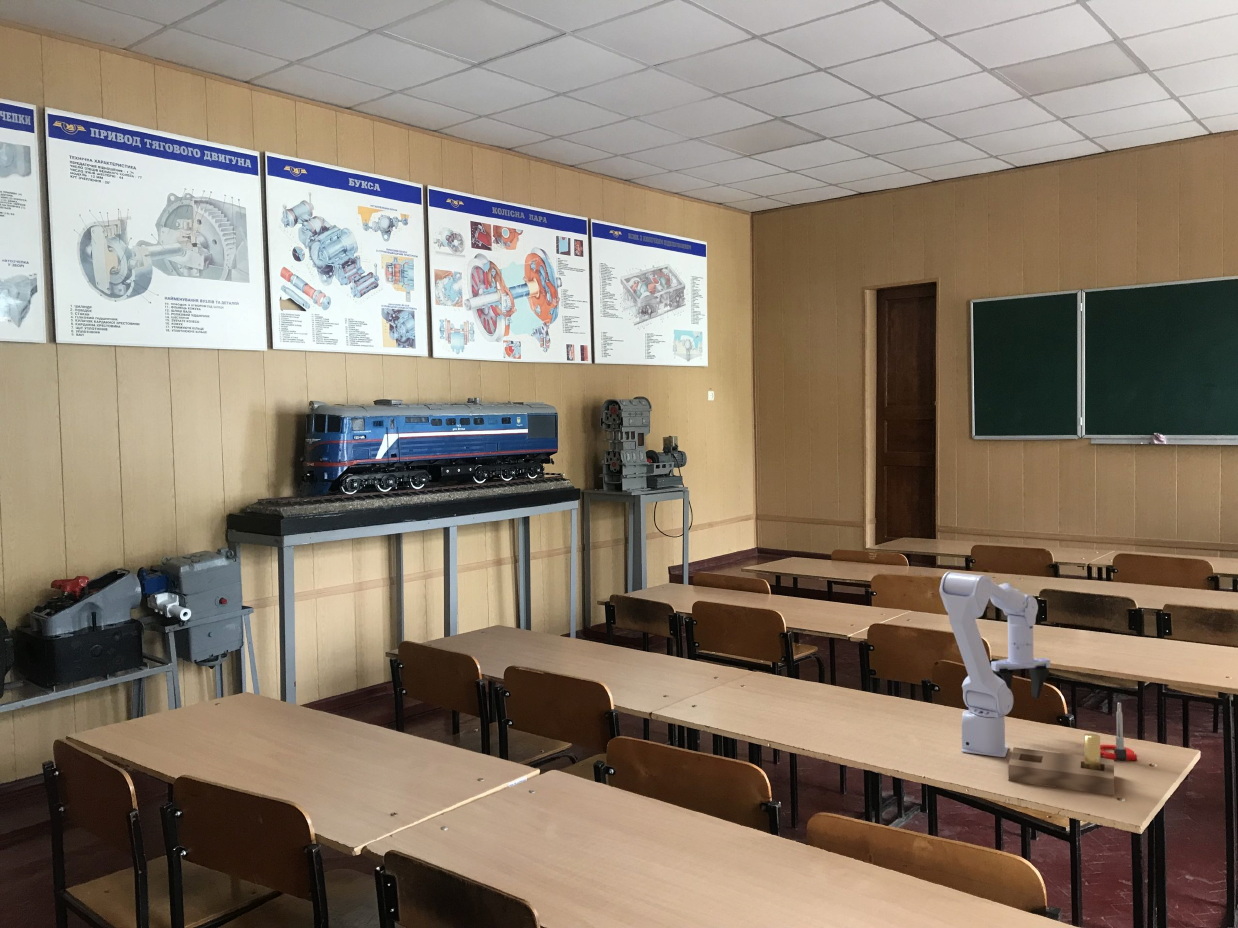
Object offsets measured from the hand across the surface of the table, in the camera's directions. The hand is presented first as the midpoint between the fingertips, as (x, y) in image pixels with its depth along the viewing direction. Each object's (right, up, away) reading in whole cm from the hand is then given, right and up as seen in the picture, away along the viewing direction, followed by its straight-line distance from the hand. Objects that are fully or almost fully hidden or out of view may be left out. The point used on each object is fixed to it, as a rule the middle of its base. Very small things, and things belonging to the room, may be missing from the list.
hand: (1021, 697), depth 228 cm
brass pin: (+2, -10, -30) cm, 32 cm away
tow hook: (+16, -10, -13) cm, 23 cm away
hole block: (-3, -10, -27) cm, 29 cm away
